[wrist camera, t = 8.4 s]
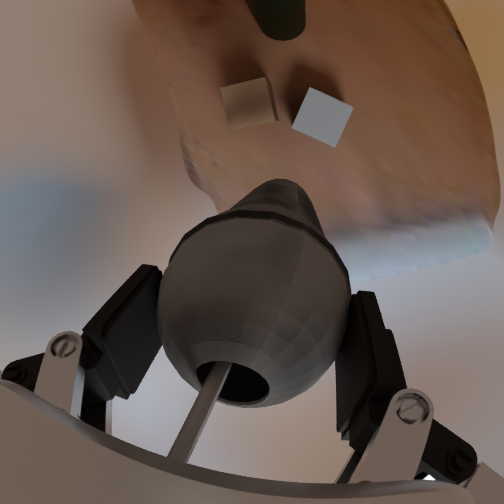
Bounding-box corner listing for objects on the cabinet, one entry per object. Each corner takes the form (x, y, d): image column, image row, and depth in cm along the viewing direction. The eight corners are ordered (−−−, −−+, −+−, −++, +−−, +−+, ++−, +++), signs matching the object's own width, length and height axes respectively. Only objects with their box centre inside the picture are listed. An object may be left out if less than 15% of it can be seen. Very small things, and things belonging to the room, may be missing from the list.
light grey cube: (308, 92, 29) (309, 87, 24) (346, 110, 29) (353, 107, 24) (293, 127, 31) (291, 128, 27) (330, 144, 31) (334, 148, 27)
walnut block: (231, 92, 30) (219, 88, 26) (270, 83, 29) (264, 77, 25) (239, 129, 32) (229, 129, 28) (279, 121, 31) (274, 120, 27)
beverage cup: (342, 233, 20) (386, 545, 3) (258, 263, 23) (170, 529, 5) (305, 144, 18) (299, 571, 1) (216, 184, 21) (-11, 417, 3)
